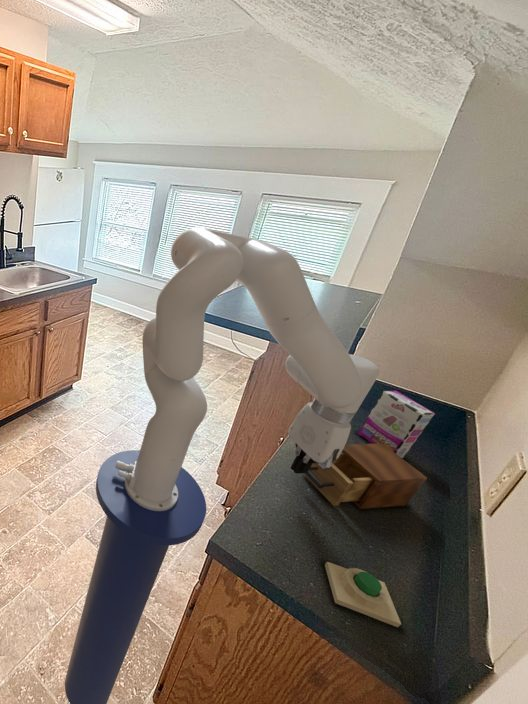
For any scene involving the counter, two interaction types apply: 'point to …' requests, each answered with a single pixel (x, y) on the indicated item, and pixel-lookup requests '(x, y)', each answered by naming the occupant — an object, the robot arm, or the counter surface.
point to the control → (360, 595)
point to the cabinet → (385, 475)
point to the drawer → (340, 480)
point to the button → (368, 583)
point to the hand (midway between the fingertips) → (298, 470)
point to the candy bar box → (395, 422)
